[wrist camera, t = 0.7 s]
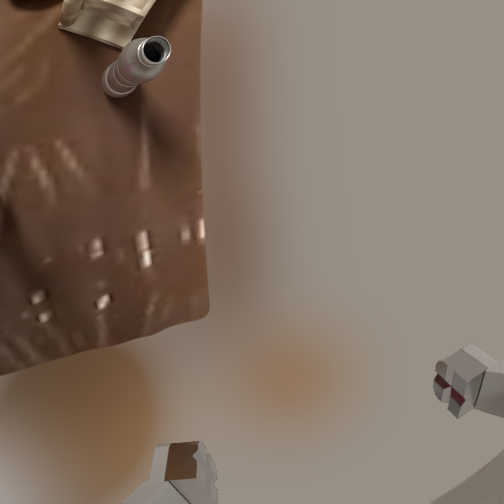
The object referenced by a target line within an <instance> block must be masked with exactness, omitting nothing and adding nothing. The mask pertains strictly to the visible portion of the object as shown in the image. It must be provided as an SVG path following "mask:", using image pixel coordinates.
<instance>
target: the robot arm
mask: <svg viewBox="0 0 504 504" xmlns="http://www.w3.org/2000/svg"><path fill="white" fill-rule="evenodd" d="M435 371H436V372H437V373H438V374H437V376H436V377H435V379H434V385H433V388H434V392H435V395H436V396H437V398H438V399H439V400H440V401H441V402H444V403H448V410H449V411H450V412H451V413H452V414H453V415H454V416H455V417H456V418H457V419H458V418H460V417H462V416H463V415H464V414H466V413H468V412H469V411H471V410H472V409H474V408H475V409H476V410H480V411H482V412H486V413H489V414H492V415H495V416H499V417H502V418H504V361H502V360H499V361H498V362H497V361H495V360H494V359H492V358H491V357H490V356H488V355H487V354H485V353H484V352H483V351H481V350H480V349H478V348H477V347H475V346H474V345H473V344H469V343H468V344H466V345H465V346H463V347H462V348H460V349H458V350H457V351H455V352H453V353H452V354H450V355H448V356H446V357H445V358H443V359H441V360H440V361H438V362H437V364H436V369H435ZM216 480H217V470H216V465H215V462H214V460H213V458H212V456H211V455H210V454H208V453H206V446H205V445H204V443H203V442H202V441H193V442H183V443H171V444H158V445H157V446H156V447H155V449H154V454H153V460H152V464H151V469H150V474H149V480H148V482H147V481H146V482H143V483H142V484H141V485H140V486H139V487H138V488H137V489H136V490H135V491H134V492H133V493H132V494H131V495H130V496H129V497H128V498H127V499H126V500H125V501H123V502H122V503H121V504H218V489H217V487H216V486H215V485H214V482H215V481H216ZM428 504H504V450H503V451H502V452H500V453H499V454H498V455H497V456H496V457H495V458H493V459H492V460H491V461H490V462H488V463H487V464H486V465H485V466H483V467H482V468H481V469H480V470H478V471H477V472H475V473H474V474H473V475H472V476H470V477H469V478H467V479H466V480H465V481H463V482H462V483H460V484H459V485H457V486H456V487H454V488H453V489H451V490H450V491H448V492H446V493H445V494H443V495H441V496H440V497H438V498H437V499H435V500H433V501H431V502H430V503H428Z"/></svg>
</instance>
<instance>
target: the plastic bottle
mask: <svg viewBox="0 0 504 504" xmlns="http://www.w3.org/2000/svg"><path fill="white" fill-rule="evenodd" d="M170 53H171V46H170V43H169V41H168V40H167V39H166V38H164V37H162V36H152V37H150V38H138V39H135V40H133V41H131V42H129V43H128V44H127V45H126V46H125V47H124V48H123V50H122V51H121V53H120V55H119V58H118V60H117V61H115V62H114V63H112V64H110V65H109V66H108V67H107V68H106V69H105V71H104V73H103V76H102V88H103V90H104V92H105V93H106V94H107V95H109V96H111V97H115V98H121V97H125V96H127V95H129V94H130V93H132V92H133V91H134V89H135V88H136V87H137V85H138V84H143V83H146V82H149V81H152V80H153V79H155V78H156V77H157V76H158V75H159V74H160V73H161V71H162V69H163V67H164V65H165V61H166V60H167V59H168V57H169V56H170Z"/></svg>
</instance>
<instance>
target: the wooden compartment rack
mask: <svg viewBox="0 0 504 504" xmlns="http://www.w3.org/2000/svg"><path fill="white" fill-rule="evenodd" d="M155 2H156V0H64V3H63V7H62V12H61V18H60V23H59V25H58V28H60V29H64V30H67V31H71V32H74V33H77V34H80V35H83V36H86V37H89V38H92V39H95V40H98V41H101V42H103V43H106V44H109V45H111V46H114V47H117V48H119V49H122V50H123V48H124V47H125V46H126V45H127V44H128V43H129V42H130V41H131V39H132V38H133V36H134V34H135V33H136V31H137V29H138V28H139V26H140V24H141V23H142V21H143V20H144V18H145V17H146V15H147V13H148V12H149V10H150V9H151V7H152V6H153V5H154V3H155Z"/></svg>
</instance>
